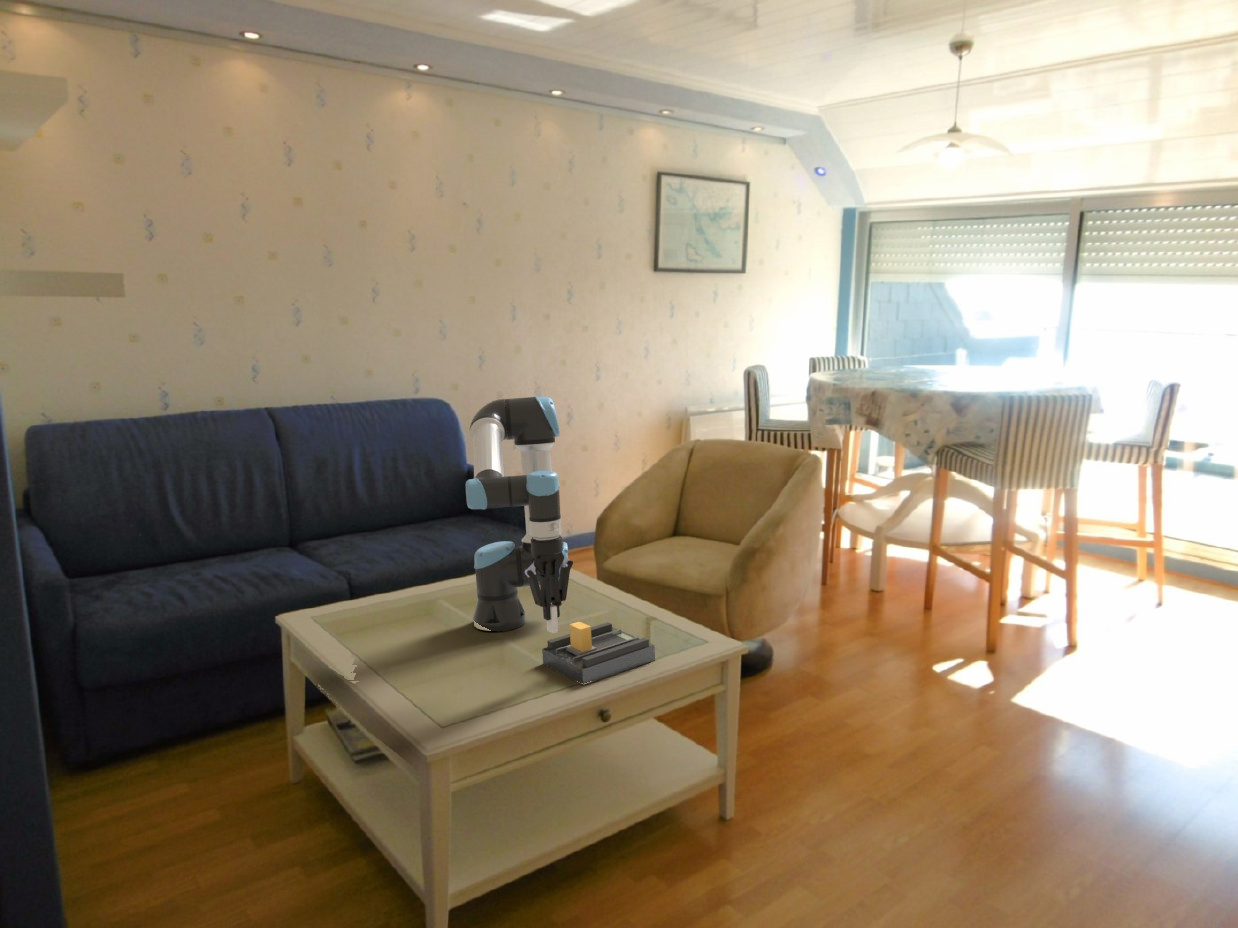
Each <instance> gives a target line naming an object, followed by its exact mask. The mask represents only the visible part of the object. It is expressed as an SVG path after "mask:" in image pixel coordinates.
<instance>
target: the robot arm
mask: <svg viewBox="0 0 1238 928" xmlns="http://www.w3.org/2000/svg"><path fill="white" fill-rule="evenodd" d="M560 435H561V433H560V425H559V420H558V415H557V411H556V406H555V403H554V401H553V399H552V398H551V397H549V396H536V395H535V396H532V397H515V398H513V397H512V398H500V399H496V400H492V401H491V402H489V403H486V404H485V405H483V406H482V407H481V408H480V409H479V410H478V411H477V412H476V413H475V415H474V416H473V418H472V420H471V422H470V426H469V437H470V441H471V442H472V443H473V478H471V479H467V480H466V481H465V496H466V505H467V508H468V509H471V510H483V511H485V510H488V509H499V508H508V507H510V508H513V507H514V508H515V507H524V517H525V530H526V533H525V535H524V537H522V538H521V545H520V546H516V544H515V543H514V542H513V541H510V540H509V541H508V540H507V541H505V540H503V541H502V540H500V541H496V542H492V543H489V544H486V545H484V546H481V547H480V548H478V549H477V550H476V551H475V553H474V565H473V569H475V582H476V583H475V585H476V597H477V600H476V605H475V610H474V613H473V617H472V621H473V620H474V621H475V622H476V623H478V624H479V625H481V626H482V627H485V628H487V629H489V630H491V631H502V632H508V631H512V630H515V629H517V628H521V627H522V626H523V625H524V624H525V623H526V621H527V618H526V611H525V609H524V607H523V604H522V602H521V599H520V598H519V591H518V588H522V587H523V588H525V587H529V588H530V591H531V595H532V598H533V600H534V601H533V602H534V604H535V605H536V606H539V607H541V608H542V611H543V619H544V620H545V621H546V630H547V632H549V633H551V634H553V635H554V634H558V633H559V620H558V618H560V617H561V612H560V611H561V609H560V606H562V605H563V603H562V602H565V601H566V600H567V596H568V588H569V580H570V573H571V572H570V571H571V569H572V567H573V565H574V562H573V560H571V559H569V554H568V551H569V547H568V543H567V542H565V541H563V537H562V534H563V533H562V531H563V529H562V518H561V501H560V500H561V499H560V482H559V475H558V473H557V472H555V471H553V469H552V468H553V467H552V456H551V455H552V454H551V453H552V452H551V449H552V447H553V446H554V445H555V444H556V438H557V437H560ZM506 440H507V441H509V440H513V443H514V447H515V448H516V449H518V450H519V453H520V463H521V475H510V476H505V473H504V469H505V468H504V457H503V455H504V454H503V444H502V443H503V441H506Z"/></svg>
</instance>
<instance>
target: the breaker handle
mask: <svg viewBox="0 0 1238 928" xmlns="http://www.w3.org/2000/svg"><path fill="white" fill-rule="evenodd" d="M591 627H592V626H591V625H589V624H586V623H583V622H581V621H576V622H573V623H570V624H569V634H570V642H571V645H570V646H567V647H566V649H567V651H569V652H571V653H573V654H575V655H577V656H580V655H583V654H586V653H589V652H592V651H595V650H597V648H596V647H594V646H592V639H591Z"/></svg>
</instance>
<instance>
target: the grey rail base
mask: <svg viewBox="0 0 1238 928" xmlns="http://www.w3.org/2000/svg"><path fill="white" fill-rule="evenodd" d="M591 639H592V646H594V647H596V648H597V650H595V651H592V652H589V653H586V654H583V655H580V656H577V655H575V654H573V653H571V652H569V651H567V649H566V647H567V646H570V645H571V644H567V645H564V646H561V647H558V648H555V649H550V648H548V646H546V647H544V648H541V651H542V663H543V665H545V666H547V665H548V666H549V667H548V666H547V667H548V668H550V667H551V668H550V669H552V670H554V671H556V672H558V673H560V674H561V675H563V674H564V675H563V676H565V677H567V678H569V679H571V680H573V681H575V682H576V681H578V682H580V683H583V684H584V683H587V682H590V681H594V682H597V681H599V680H603V679H605V678H608V677H610V676H614V675H617V674H619V673H622V672H625V671H629V670H631V669H634V668H637V667H639V666H643V665H645V664H648V663H651V662H654V661H655V660H656V652H655V651H656V650H655V644H653V643H651V642H649V647H646V648H643V649H640V650H637V651H634V652H631V653H628V654H625V655H622V656H619V657H616V658H613V659H610V660H607V661H604V662H601V663H598V664H595V665H592V666H589V667H585V666H583V664H582V658H584V657H587V656H590V655H593V654H596V653H599V652H602V651H605V650H608V649H611V648H614V647H617V646H620V645H623V644H626V643H629V642H632V641H636V640H639V639H640V636H634V635H632V634H629V633H627V632H625V631H622V629H621V628H615V627H613V626H612V631H609V632H606V633H602V634H599V635H596V636H593V637H591ZM596 680H597V681H596ZM578 682H577V683H578ZM580 683H579V684H580Z"/></svg>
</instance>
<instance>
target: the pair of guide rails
mask: <svg viewBox="0 0 1238 928" xmlns="http://www.w3.org/2000/svg"><path fill="white" fill-rule="evenodd" d="M612 627H613V624H612V623H611V622H604V623H601V624H598V625H594V626H591V637H593V636H596V635H599V634H602V633H606V632H609V631H612ZM546 641H547V647H548V648H550V649H555V648H558V647H561V646H564V645H567V644H571V642H570V633H569V634H568V633H567V634H565V635H562V636H558V637H555V638H553V639H549V640H546ZM649 643H650V639H648V638H646V637H641V638H639V640H636V641H632V642H629V643H626V644H623V645H620V646H617V647H614V648H611V649H608V650H605V651H602V652H599V653H596V654H593V655H590V656H587V657H584V658H582V664H583V666H585V667H589V666H592V665H595V664H598V663H601V662H604V661H607V660H610V659H613V658H616V657H619V656H622V655H625V654H628V653H631V652H634V651H637V650H640V649H643V648H646V647H649Z"/></svg>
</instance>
